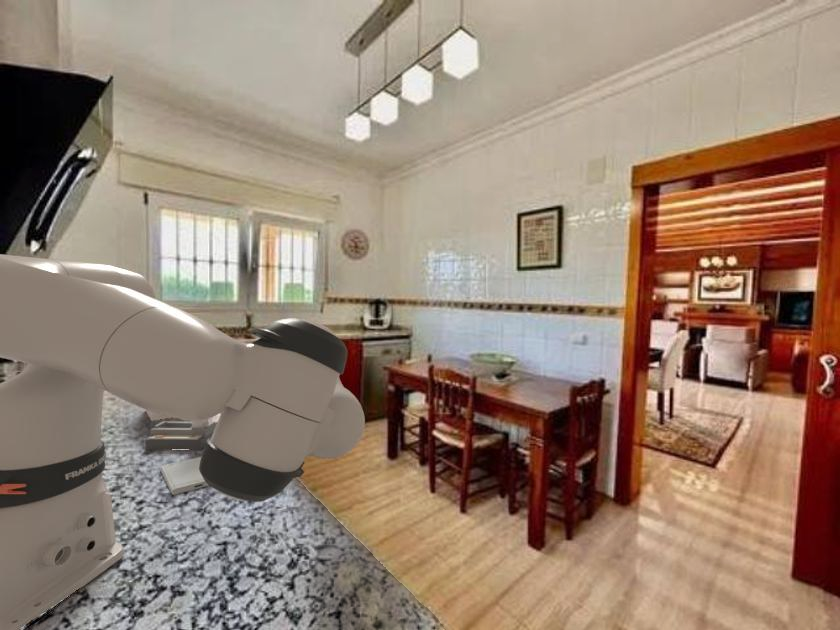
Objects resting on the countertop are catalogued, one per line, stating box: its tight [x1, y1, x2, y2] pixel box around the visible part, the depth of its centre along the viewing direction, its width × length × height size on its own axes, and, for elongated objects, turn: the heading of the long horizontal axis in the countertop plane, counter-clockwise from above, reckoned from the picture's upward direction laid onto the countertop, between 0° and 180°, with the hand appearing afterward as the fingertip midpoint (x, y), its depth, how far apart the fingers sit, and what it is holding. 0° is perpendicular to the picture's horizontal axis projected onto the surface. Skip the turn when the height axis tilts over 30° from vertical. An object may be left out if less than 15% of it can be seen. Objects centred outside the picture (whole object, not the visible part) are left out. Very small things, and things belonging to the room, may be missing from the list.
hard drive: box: [159, 456, 210, 496], centre depth 74 cm, size 2×8×12 cm
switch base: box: [144, 420, 218, 451], centre depth 91 cm, size 10×12×4 cm
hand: (217, 396), depth 91 cm, fingers closed
